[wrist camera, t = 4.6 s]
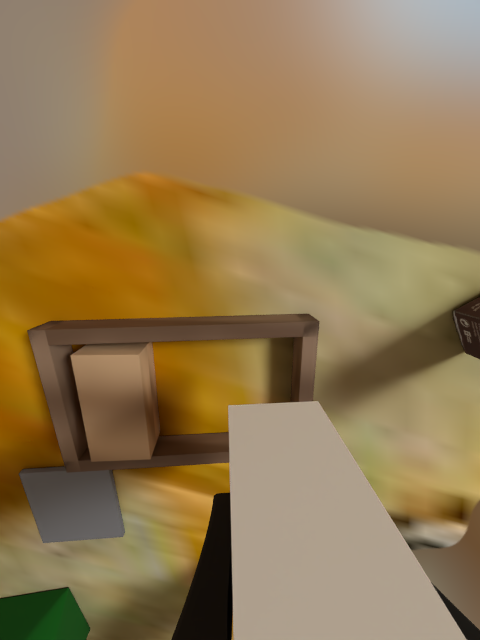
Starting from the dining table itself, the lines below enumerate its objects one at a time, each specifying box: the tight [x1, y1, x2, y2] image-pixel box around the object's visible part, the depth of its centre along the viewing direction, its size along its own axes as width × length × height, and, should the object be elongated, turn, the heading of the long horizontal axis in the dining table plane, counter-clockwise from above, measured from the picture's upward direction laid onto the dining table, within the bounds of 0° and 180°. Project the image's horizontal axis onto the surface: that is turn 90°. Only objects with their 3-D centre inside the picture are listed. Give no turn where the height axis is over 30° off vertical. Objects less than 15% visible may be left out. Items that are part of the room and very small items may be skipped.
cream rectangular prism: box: [228, 401, 467, 640], centre depth 8 cm, size 7×4×7 cm, turn 1°
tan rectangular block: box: [70, 342, 160, 462], centre depth 17 cm, size 8×4×3 cm, turn 179°
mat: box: [19, 467, 125, 543], centre depth 21 cm, size 8×7×1 cm
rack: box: [27, 314, 319, 473], centre depth 17 cm, size 11×18×2 cm, turn 91°
